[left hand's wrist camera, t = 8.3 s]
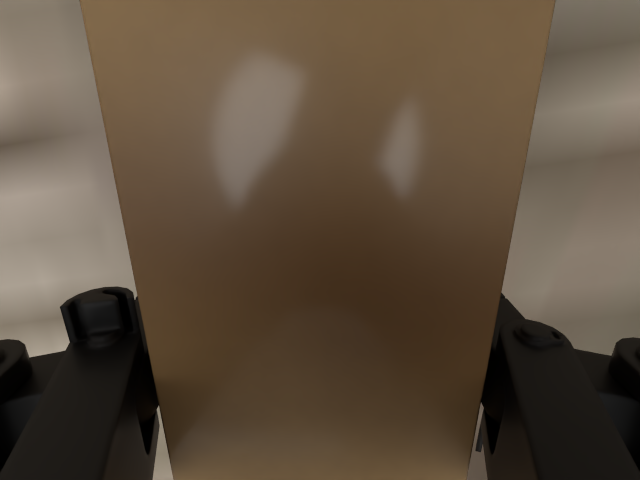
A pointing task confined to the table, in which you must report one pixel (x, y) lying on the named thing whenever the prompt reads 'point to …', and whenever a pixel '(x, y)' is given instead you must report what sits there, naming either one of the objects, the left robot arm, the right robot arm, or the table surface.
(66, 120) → the table surface
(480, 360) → the beam
